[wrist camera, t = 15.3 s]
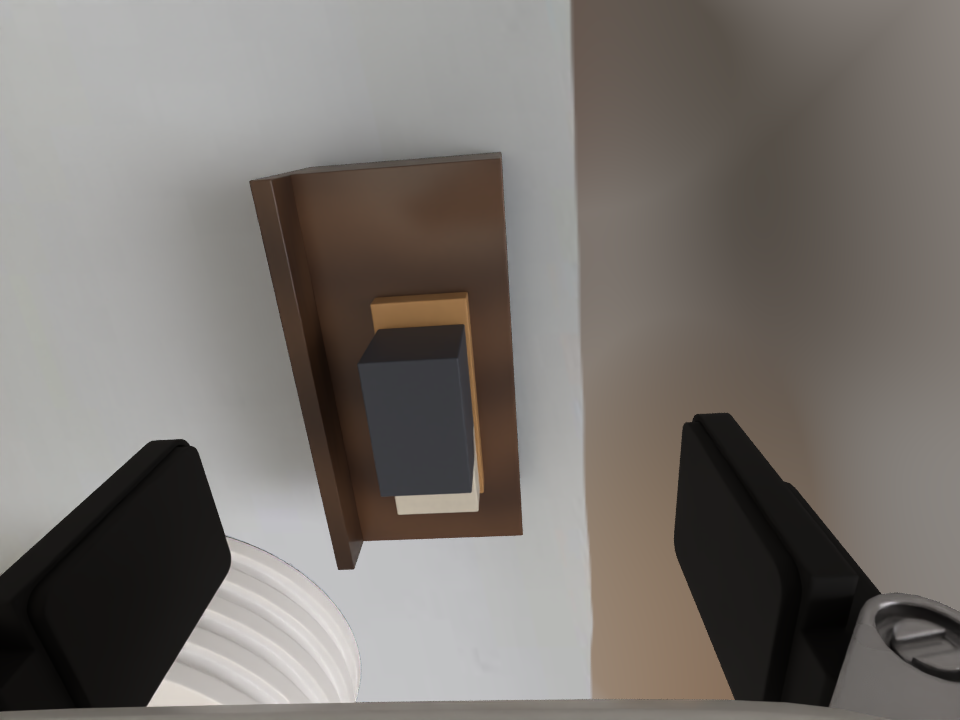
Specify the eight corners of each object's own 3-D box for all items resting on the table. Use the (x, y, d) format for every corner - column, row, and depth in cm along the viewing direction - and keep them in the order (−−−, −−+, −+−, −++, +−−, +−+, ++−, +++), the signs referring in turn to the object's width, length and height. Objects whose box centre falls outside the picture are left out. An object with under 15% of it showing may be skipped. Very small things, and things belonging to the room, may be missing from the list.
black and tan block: (374, 297, 28) (346, 335, 23) (467, 291, 28) (460, 328, 23) (404, 484, 33) (386, 551, 28) (484, 481, 32) (481, 548, 27)
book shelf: (310, 167, 32) (248, 180, 24) (501, 152, 31) (501, 160, 23) (369, 484, 40) (337, 570, 32) (519, 478, 39) (524, 564, 32)
